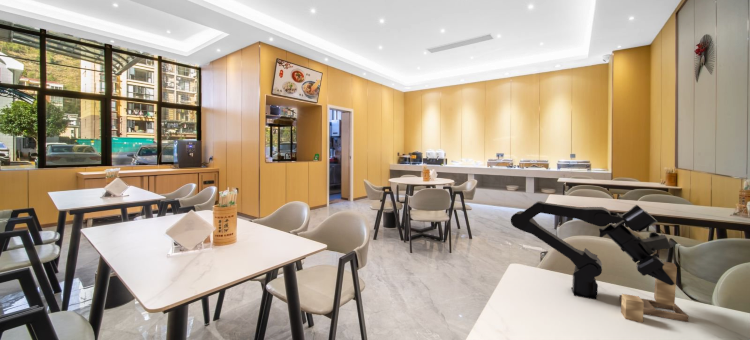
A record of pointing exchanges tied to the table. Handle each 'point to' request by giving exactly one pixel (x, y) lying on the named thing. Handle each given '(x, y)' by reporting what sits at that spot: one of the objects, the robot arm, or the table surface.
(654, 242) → the robot arm
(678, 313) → the socket board
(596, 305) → the table surface
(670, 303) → the long peg
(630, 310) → the short peg
